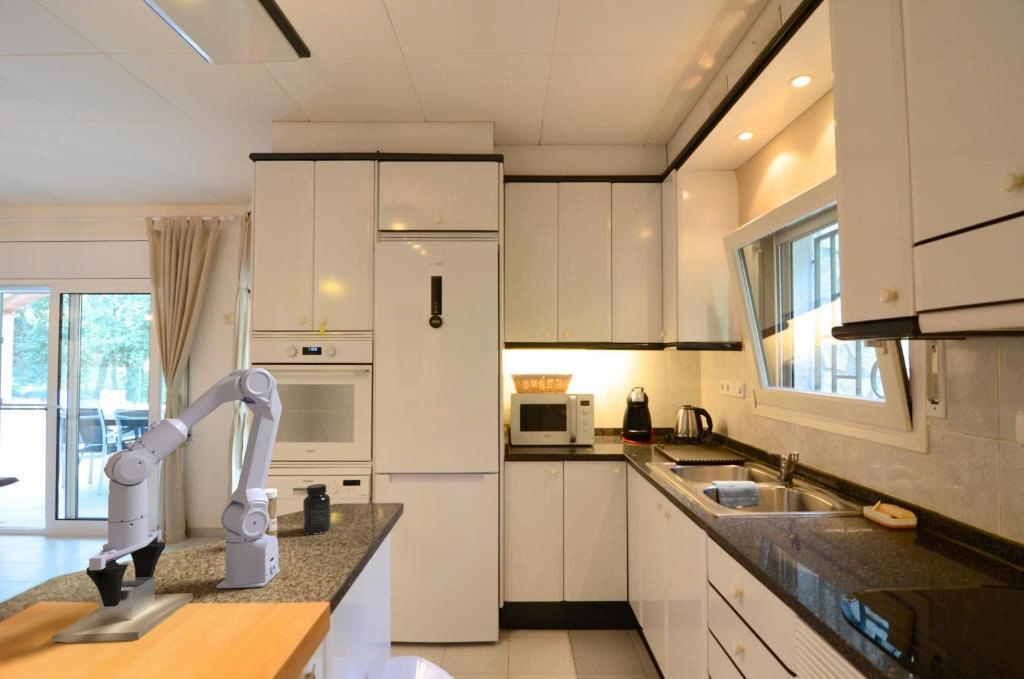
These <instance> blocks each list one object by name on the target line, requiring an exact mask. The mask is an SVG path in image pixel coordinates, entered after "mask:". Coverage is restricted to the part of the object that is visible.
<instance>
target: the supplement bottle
mask: <svg viewBox="0 0 1024 679" xmlns="http://www.w3.org/2000/svg"><path fill="white" fill-rule="evenodd" d="M306 495H307V496H306V497H304V499H303V500H302V502H303V503H302V505H303V509H302V510H303V512H302V513H303V514H302V515H303V520H302V522H303V532H305V533H308V534H307V535H309V534H314V533H320V532H324V531H327V530H328V529H331V525H332V523H331V517H332V516H331V496H330V495H329V494H327V484H325V483H316V484H311V485H308V486H306ZM327 532H328V531H327ZM305 533H304V534H305ZM324 533H325V532H324Z"/></svg>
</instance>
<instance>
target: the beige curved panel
mask: <svg viewBox="0 0 1024 679" xmlns="http://www.w3.org/2000/svg"><path fill="white" fill-rule="evenodd" d="M193 595H194V594H193V592H190V593H189V592H187V593H166V594H165V593H164V594H161V593H160V594H155V605H153V606H152V607H150V608H149V609H147V610H146V611H144V612H143V613H141V614H140V615H138V616H137V617H135V618H134V619H132V620H118V621H99V607H98V608H96V609H95V610H93V611H91V612H90V613H88V614H87V615H85V616H82V617H81V618H80V619H78V620H76V621H75V622H73V623H71V624H70V625H68V626H66V627H65V628H62V629H61V630H60V631H58V632H56V633H55V634H52V643H53V642H65V643H85V642H86V643H87V642H107V641H108V642H109V641H110V642H111V641H133V640H140V639H141V638H143V637H144V636H145V635H146V634H148V633H149V632H151V631H152V630H154V629H155V628H156V627H157V626H159V625H160V624H162V623H163V622H164V621H165V619H166V618H167V619H168V618H170V617H171V616H172V615H174V614H175V613H176V612H177V611H176V610H178V609H179V608H180V609H182V608H183V607H185V606H186V605H187V604H188V603H190V602H191V601H193ZM182 606H183V607H182ZM181 607H182V608H181ZM180 609H179V610H180ZM179 610H178V611H179ZM175 611H176V612H175ZM174 612H175V613H174ZM173 613H174V614H173ZM171 614H172V615H171ZM170 615H171V616H170ZM169 616H170V617H169ZM167 619H166V620H167ZM75 641H77V642H75Z"/></svg>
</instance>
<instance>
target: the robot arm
mask: <svg viewBox="0 0 1024 679" xmlns="http://www.w3.org/2000/svg"><path fill="white" fill-rule="evenodd" d="M277 385H278V380H276V379H275V377H273V375H272V374H271V373H270V372H269V371H268V370H267V369H265V368H262V367H253V368H237V369H234V370H232V371H231V372H230V373H229V374H227V375H226V376H224V377H222V378H220V379H219V380H218V381H217V382H215V383H214V384H213V385H212V386H211V387H209V388H208V390H206V391H205V392H203V393H202V395H200V396H199V397H198V398H197V399H196V400H194V401H193V402H192V403H191V404H190V405H189V406H187V407H186V408H185V409H184V410H183V411H181V412H180V413H179V414H178V415H177V416H176V417H174V418H163V419H161V420H159V421H157V420H155V421H153V422H152V423H151V424H149V427H150V429H148V430H147V431H146V432H145V433H143V434H142V435H141V436H139V437H138V438H137V439H136V440H134V441H129V442H128V443H126V444H125V447H127V449H123V450H119V451H117V452H115V453H113V454H112V455H111V456H110V457H109V458H108V460H107V463H106V465H105V467H103V472H104V475H105V476H106V477H107V478H108V479H109V481H108V483H109V485H108V490H109V491H108V495H107V505H108V506H107V543H105V544H102V550H101V551H99V552H98V553H96V554H95V555H93V556H91V557H90V558H89V559H88V567H86V575H87V576H88V577H89V578H90V580H91V581H92V582H93V583H94V585H95V586H96V588H97V591H98V593H100V596H101V599H102V602H103V605H104V607H112V606H117V605H118V604H119V601H120V596H121V585H122V580H123V578H124V576H125V573H126V570H127V569H128V566H129V564H127V563H125V564H122V563H121V564H119V562H117V561H118V560H120V559H121V558H124V557H126V556H128V555H130V557H131V559H132V562H133V567H134V575H135V576H134V577H154V575H155V574H154V573H155V570H156V566H157V564H158V562H159V559H160V557H161V554H162V553H163V551H164V550H165V549H166V542H164V541H161V540H162V539H163V534H162V533H163V529H161V528H160V529H151V530H149V489H148V478H149V477H150V476H151V474H152V473H153V470H154V466H155V465H158V464H159V463H160V462H162V461H163V460H164V459H165V458H166V457H168V456H169V455H170V454H172V452H174V451H175V450H176V449H177V448H179V447H180V446H181V445H182V444H183V443H184V442H186V441H187V439H188V434H189V430H190V429H191V428H192V427H194V426H196V425H197V424H198V423H200V421H202V420H203V419H205V418H206V417H207V416H208V415H210V414H211V413H212V412H214V411H216V410H217V409H218V408H219V407H221V406H222V405H223V404H225V403H229V402H235V401H241V402H242V403H244V405H245V406H246V407H247V408H248V409H249V410H250V411H251V413H253V417H252V420H251V424H250V429H249V434H248V438H247V443H246V447H245V452H244V455H243V456H244V457H243V461H242V465H241V470H240V475H239V479H238V484H237V486H236V487H237V488H236V489H235V490H234V491H233V492H232V494H231V495H230V497H229V502H228V504H227V506H226V507H225V508H224V509H223V511H222V513H221V518H220V522H221V525H222V528H224V529H225V530H226V531H227V532H226V536H225V579H223V580H222V581H221V582H220V583H219V584H217V585H216V586H215V588H216V589H239V588H241V589H242V588H261V587H262V588H263V587H264V586H265V585H267V584H268V583H269V582H270V581H271V580H272V579H273V578H275V576H277V574H279V573H280V571H281V569H280V568H279V542H278V541H279V540H277V539H278V537H277V538H276V537H275V536H270V535H266V534H265V531H266V529H267V527H268V525H269V521H270V518H269V513H268V504H269V501H268V498H267V495H266V492H265V489H266V486H267V482H268V477H269V472H270V467H271V463H272V458H273V455H274V454H273V452H274V450H275V449H274V448H275V443H276V439H277V433H278V430H279V425H280V419H281V416H282V412H283V411H282V409H283V406H282V403H281V399H280V397H279V393H278V392H279V391H278V389H277Z"/></svg>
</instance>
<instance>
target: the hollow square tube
mask: <svg viewBox="0 0 1024 679" xmlns="http://www.w3.org/2000/svg"><path fill="white" fill-rule="evenodd" d="M98 593H99V592H98ZM155 593H156V577H155V576H153V577H135V576H134V577H123V580H122V585H121V596H120V601H119V604H118V605H117V606H112V607H104V605H103V602H102V599H101V596H100V593H99V595H98V596H99V598H98V599H99V600H98V602H99V606H98V608H99V621H118V620H132V619H134V618H135V617H137V616H138V615H140V614H141V613H143V612H144V611H146V610H147V609H149V608H150V607H152V606H153V605H155V595H156V594H155Z"/></svg>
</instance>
